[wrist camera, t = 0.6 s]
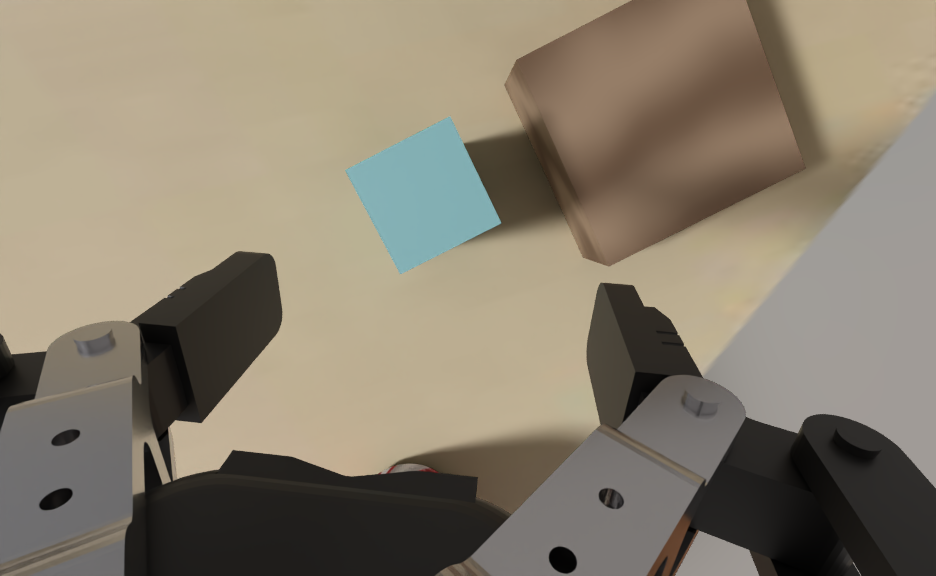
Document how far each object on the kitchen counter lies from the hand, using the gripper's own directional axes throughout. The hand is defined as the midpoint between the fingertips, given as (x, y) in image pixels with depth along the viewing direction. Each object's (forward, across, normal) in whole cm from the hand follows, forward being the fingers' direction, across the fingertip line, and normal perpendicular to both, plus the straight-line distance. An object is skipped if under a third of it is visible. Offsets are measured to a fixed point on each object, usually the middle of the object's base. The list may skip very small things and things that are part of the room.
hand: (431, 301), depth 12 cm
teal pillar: (+19, +3, +3) cm, 20 cm away
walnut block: (+22, -9, -1) cm, 24 cm away
